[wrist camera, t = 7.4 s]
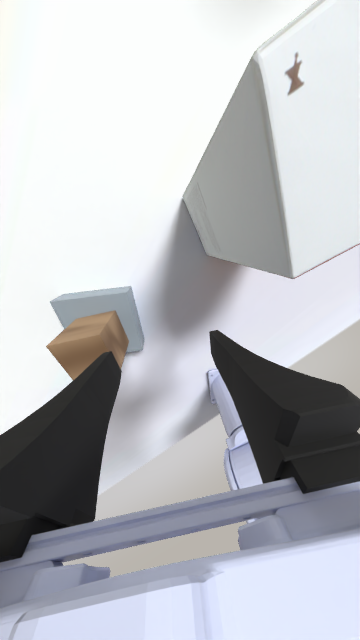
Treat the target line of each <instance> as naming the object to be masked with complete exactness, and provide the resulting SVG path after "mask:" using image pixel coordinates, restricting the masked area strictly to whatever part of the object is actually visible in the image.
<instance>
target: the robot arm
mask: <svg viewBox="0 0 360 640" xmlns="http://www.w3.org/2000/svg"><path fill="white" fill-rule="evenodd" d="M210 345H211V354H212V357H213V360H214V362H215V365H216V367H217V369H215V370H210V371H209V372H208V378H209V388H210V398H211V404H217V406H218V409H219V412H220V415H221V418H222V421H223V424H224V427H225V430H226V433H227V435H228V437H229V438H228V439H226V442H227V445H228V448H227V449H226V450H225V454H224V468H225V473H226V477H227V481H228V484H229V487H230V490H231V491H229V492H224V493H220V494H215V495H211V496H206V497H202V498H197V499H193V500H188V501H184V502H179V503H175V504H171V505H166V506H162V507H157V508H153V509H148V510H143V511H139V512H134V513H130V514H126V515H121V516H116V517H112V518H108V519H103V520H99V521H94V519H95V512H96V503H97V494H98V485H99V477H100V470H101V463H102V456H103V450H104V444H105V439H106V434H107V429H108V424H109V420H110V416H111V413H112V409H113V406H114V402H115V399H116V396H117V392H118V389H119V385H120V379H121V372H122V371H121V369H120V367H119V365H118V363H117V361H116V359H115V357H114V355H113V353H112V351H110V352H105V353H102V354H101V355H100V356H99V357H98V358H97V359H96V360H95V361H94V362H93V363H91V364H90V365H89V366H88V367H87V368H86V369H85V370H84V371H83V372H82V373H81V374H80V375H79V376H78V377H77V378H76V379H74V380H73V381H72V382H71V383H70V384H69V385H68V386H67V387H66V388H64V389H63V390H62V391H61V392H60V393H58V394H57V395H56V396H55V397H54V398H52V399H51V400H50V401H48V402H47V403H46V404H45V405H43V406H42V407H41V408H39V409H38V410H36V411H35V412H34V413H32V414H31V415H30V416H28V417H27V418H25V419H24V420H23V421H21V422H20V423H18V424H17V425H15V426H14V427H12V428H11V429H9V430H8V431H6V432H5V433H3V434H2V435H0V640H360V434H359V433H358V432H357V430H358V429H359V428H360V399H359V398H358V397H357V396H355V395H354V394H353V393H351V392H350V391H349V390H348V389H346V388H345V387H344V386H342V385H340V384H336V383H332V382H329V381H326V380H322V379H318V378H315V377H311V376H308V375H305V374H302V373H299V372H296V371H293V370H290V369H288V368H285V367H283V366H280V365H278V364H275V363H273V362H271V361H268V360H266V359H264V358H262V357H260V356H258V355H256V354H254V353H252V352H250V351H249V350H247V349H245V348H243V347H242V346H240V345H239V344H237V343H236V342H234V341H233V340H231V339H230V338H228V337H227V336H225V335H224V334H223V333H221V332H220V331H218V330H215V331H210ZM93 521H94V522H93ZM242 521H246V522H247V524H246V525H243V526H240V527H239V529H238V533H239V539H238V542H239V546H240V550H241V551H235V552H230V553H225V554H219V555H214V556H208V557H203V558H198V559H193V560H188V561H182V562H178V563H172V564H168V565H163V566H159V567H154V568H150V569H144V570H140V571H136V572H131V573H127V574H123V575H118V576H114V577H110V578H109V576H110V568H109V567H92V566H88V565H86V564H75V565H67V566H63V564H62V562H67V561H71V560H75V559H80V558H84V557H89V556H93V555H97V554H102V553H106V552H110V551H115V550H119V549H124V548H128V547H132V546H137V545H141V544H145V543H150V542H154V541H159V540H163V539H168V538H172V537H176V536H181V535H185V534H190V533H194V532H198V531H202V530H207V529H211V528H216V527H220V526H224V525H229V524H233V523H238V522H242Z"/></svg>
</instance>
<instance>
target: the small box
mask: <svg viewBox="0 0 360 640" xmlns="http://www.w3.org/2000/svg"><path fill="white" fill-rule="evenodd" d="M183 199H184V202H185V204H186V206H187V209H188V211H189V213H190V216H191V218H192V221H193V223H194V225H195V228H196V230H197V232H198V235H199V237H200V240H201V242H202V245H203V247H204V249H205V252H206V254H207V255H208V256H211V257H215V258H219V259H222V260H226V261H230V262H233V263H237V264H240V265H244V266H248V267H252V268H255V269H259V270H262V271H266V272H269V273H273V274H277V275H280V276H284V277H287V278H291V279H295V278H297V277H299V276H300V275H302V274H304V273H306V272H308V271H310V270H312V269H314V268H315V267H317V266H319V265H321V264H323V263H325V262H327V261H329V260H331V259H332V258H334V257H336V256H338V255H340V254H342V253H344V252H346V251H348V250H350V249H352V248H353V247H355V246H357V245H359V244H360V0H317V1H316V2H314V3H313V4H312V5H311V6H310V7H309V8H307V9H306V10H305V11H304V12H303V13H301V14H300V15H299V16H298V17H297V18H295V19H294V20H293V21H291V22H290V23H289V24H287V25H286V26H285V27H283V28H282V29H281V30H280V31H278V32H277V33H276V34H275V35H273V36H272V37H271V38H269V39H268V40H267V41H265V42H264V43H263V44H262V45H261V46H260V47H259V48H258V49H257V50H256V51H255V52H254V54H253V56H252V57H251V59H250V61H249V63H248V65H247V67H246V69H245V72H244V74H243V76H242V77H241V79H240V81H239V83H238V85H237V87H236V90H235V92H234V94H233V96H232V98H231V100H230V102H229V104H228V106H227V108H226V110H225V112H224V114H223V116H222V118H221V120H220V122H219V124H218V126H217V128H216V130H215V132H214V134H213V136H212V138H211V140H210V142H209V144H208V146H207V148H206V150H205V152H204V154H203V156H202V158H201V160H200V162H199V164H198V166H197V169H196V171H195V173H194V175H193V177H192V179H191V181H190V183H189V185H188V187H187V188H186V190H185V192H184V194H183Z"/></svg>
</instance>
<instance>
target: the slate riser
mask: <svg viewBox="0 0 360 640" xmlns="http://www.w3.org/2000/svg"><path fill="white" fill-rule="evenodd" d="M50 303H51V305H52V307H53V309H54V311H55V313H56V314H57V316H58V318H59V320H60V322H61V324H62V325H63V327H64V329H66V328H67V327H68V326H69V325H70V324H71V323H72V322H73V321H74V320H75V319H77V318H82V317H86V316H91V315H95V314H100V313H105V312H109V311H114V310H116V313H117V315H118V317H119V319H120V322H121V324H122V326H123V328H124V331H125V333H126V335H127V337H128V340H129V344H128V347H127V351H126V353H127V352H134V351H141V350H143V345H144V335H143V332H142V328H141V324H140V320H139V316H138V312H137V308H136V304H135V300H134V296H133V292H132V288H131V286H128V287H119V288H111V289H102V290H94V291H86V292H77V293H69V294H63V295H61V296H59V297H58V298H56V299H54V300H52V301H50Z"/></svg>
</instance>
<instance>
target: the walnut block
mask: <svg viewBox="0 0 360 640" xmlns="http://www.w3.org/2000/svg"><path fill="white" fill-rule="evenodd" d="M128 344H129V340H128V337H127V335H126V333H125V331H124V328H123V326H122V324H121V322H120V319H119V317H118V315H117V313H116V310H114V311H109V312H105V313H100V314H95V315H91V316H86V317H82V318H77V319H75V320H74V321H73V322H72V323H71V324H70V325H69V326H68V327H67V328H66V329H64V330H63V331H62V332H61V333H60V334H59V335H58V336H57V337H56V338H55V339H54V340H53V341H51V342H50V343H49V344H48V345H47V346H46V347H47V348H48V349H49V351H50V352H51V353H52V354H53V356H54V357H55V358H56V359H57V361H58V362H59V363H60V364H61V366H62V367H63V368H64V369H65V371H66V372H67V373H68V374H69V376H70V377H71V378H72V379H73V380H74V379H76V378H77V377H78V376H79V375H80V374H81V373H82V372H83V371H84V370H85V369H86V368H87V367H88V366H89V365H90V364H91V363H93V362H94V361H95V360H96V359H97V358H98V357H99V356H100V355H101V354H102V353H105V352H110V351H112V353H113V355H114V357H115V359H116V361H117V363H118V365H119V367H120V369H121V367H122V363H123V360H124V357H125V354H126V351H127V347H128Z"/></svg>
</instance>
